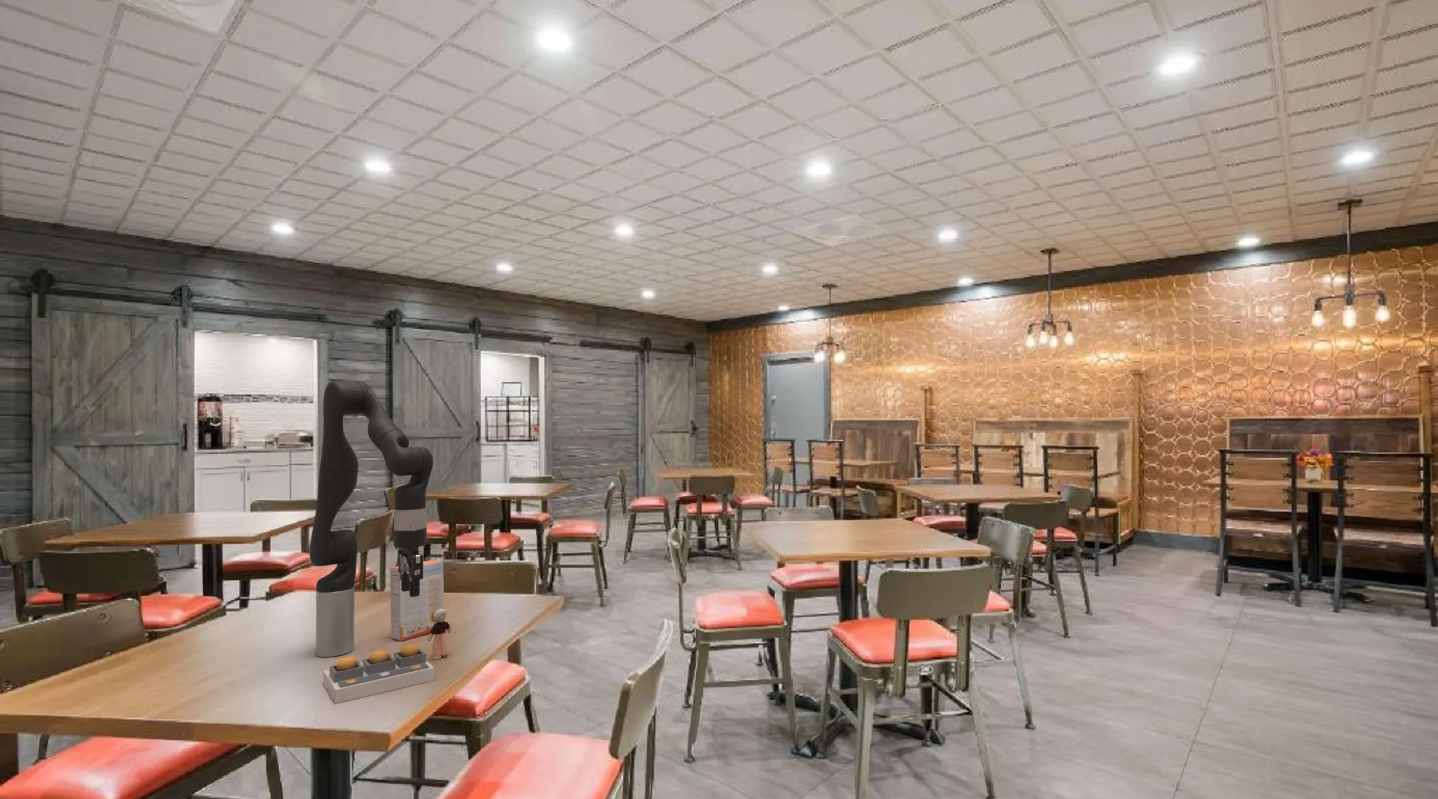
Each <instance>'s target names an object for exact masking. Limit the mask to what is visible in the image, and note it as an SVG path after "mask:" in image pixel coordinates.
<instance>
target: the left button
mask: <svg viewBox="0 0 1438 799" xmlns="http://www.w3.org/2000/svg"><path fill="white" fill-rule="evenodd" d="M356 661H357V656H356V655H353V654H352V655H351V654H350V655H344V656H343V655H342V656H340V657H338V658H337V659H336V665H337V669H338V670H345V669H350V668H353V667H355V666H356Z"/></svg>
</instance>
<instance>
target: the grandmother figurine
mask: <svg viewBox="0 0 1438 799" xmlns="http://www.w3.org/2000/svg"><path fill="white" fill-rule="evenodd" d="M447 612H448V611H447V610H446V609H445V608H444V609H438V610H437V611H435V613H434V618H435V619H436V621H437V623H435V624H434V626H433V627H432V629H431V631H430V633H428V634H429V635H428V638H427V639H426V640H427V641H428V642H431V641H432V639H433V642H432V650H431V651H432V653H431V654H432V655H431V658H430V659H431V660H432V661H437V660H441V658H444V657H443V656H445V657H447V656H448V652H449V651H448V642H447V635H446V634H447V633H448V634H450V633H451V632H452V629H451V626H450V624H449V622H448V621H446V618H447V615H448V614H447ZM446 632H447V633H446ZM433 636H434V638H433ZM440 656H441V657H440Z"/></svg>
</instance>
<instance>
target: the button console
mask: <svg viewBox="0 0 1438 799" xmlns="http://www.w3.org/2000/svg"><path fill="white" fill-rule="evenodd" d="M322 674H323V675H322V676H323V677H322V679H323V680H322V681H323V683H322V684H323V685H324V687H325V688H326V690H327V692H328V694H329V696H330V697H331V699H332V700H333V702H334V704H339V703H343V702H348V701H353V700H357V699H361V698H365V697H369V696H373V695H377V694H381V693H382V694H383V693H386V692H390V691H394V690H399V689H402V688H407V687H411V686H415V685H419V684H424V683H427V682H431V681H435V667H434V666H433V665H432V664H431V663H430V662H428V661H427V653H426V652H425V651H424V650H422V648H420V647H419V653H418V654H415V655H412V656H402V655H401V651H398V652H397V651H396V652H394V653H393V656H392V655H391V654H390V653H388V660H386V661H383V662H378V663H371V662H370V657H369V658H363V659H362V662H360V661H359V660H356V666H355V667H353V668H350V669H345V670H338V669H337V664H335V665H330V666H329V669H325V670H323V673H322Z"/></svg>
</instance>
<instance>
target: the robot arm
mask: <svg viewBox="0 0 1438 799" xmlns="http://www.w3.org/2000/svg"><path fill="white" fill-rule="evenodd" d="M323 393H324V394H323V403H322V404H323V406H322V409H323V412H322V422H323V423H322V428H323V429H322V432H323V433H322V446H321V447H322V448H321V455H320V457H321V458H320V462H319V463H320V464H319V469H318V470H319V471H318V472H319V473H318V485H317V498H316V499H317V500H316V509H315V515H314V520H313V521H314V522H313V525H312V531H311V536H310V541H309V559H310V563H311V564H312V565H313V566H315V567H326V566H334V565H336V567H335V568H334V569H333V570H332V571H330V572H329V573H327V574H326V575H324V576H323V577H321V578H319V579H318V580H317V581H316V584H315V586H316V588H315V590H316V593H315V596H316V597H315V601H316V602H315V606H316V607H315V656H316V657H321V658H330V657H331V658H332V657H338V656H341V655H342V656H343V655H346V654H348V653H351V652H353V651H354V649H355V581H356V576H357V560H358V559H357V558H358V538H357V535H356V533H355V531H354V530H352V529H349V528H345V529H337V530H336V529H335V530H332V527H333V524H334V520H335V518H336V516H337V514H338V513H339V512H340V510H341V508H342V507H343V505H345V503H346V501H348V499H349V498H350V497H351V496H352V494H353V493H354V491H355V489H356V486H357V484H358V483H357V482H358V474H359V459H358V457H357V455H356V453H355V451H354V449H353V448H352V446H351V445H350V443H349V441H348V440H347V437H346V435H345V432H344V415H345V416H346V415H352V416H353V415H363V417H366V418H367V420H368V423H367V435H368V437H369V439H370V441H371V442H372V443H373V445H374V446H375V447H376V448H377V449H378V450H379V451H380V452H381V453H382V456H383V459H384V462H385V465H386V468H387V470H388V471H389V472H390V473H391V474H392V475H395V476H399V477H403V476H410V479H409V481H408V482H406V484H403V485H399V486H398V487H397V488H396V489H395V492H394V515H393V547H394V548H396V549H397V550H398V551H397V558H398V561H397V563H398V564H397V566H398V572H399V573H400V576H402V577H401V590H402V591H403V592H405V591H409V595H410V597H417V596H419V595H420V581H419V580H421V579H423V561H424V555H423V554H421V553H420V551H419V550H420V549H419V548H420V547H424V546H426V545H427V543H428V541H427V540H428V538H427V536H428V535H427V533H428V528H427V527H428V525H427V524H428V523H427V522H428V520H427V519H428V517H427V509H426V508H427V507H426V503H427V501H426V498H427V497H426V496H427V495H426V494H427V493H426V492H427V489H428V485H429V481H430V477H431V474H432V471H433V470H432V469H433V465H434V458H433V457H434V456H433V455H432V453H431V451H430V450H429V449H428V448H427V447H424V446H414V447H413V446H412V447H411V446H409V445H410V440H409V437H408V436H407V435H406V434H405V433H404V432H403V430H402V429H401V428H399V426H397V424H396V423H395V422H394V421H393V420H392V419H391V418H390V416H389V415H388V413H387V411H386V410H385V408H384V405H383V404H382V402H381V401H380V400H379V398H378V396H377V394H376V393H375V390H374V389H373V388H372V387H371V386H370V385H369V384H368V383H366V382H364V381H358V380H332V381H331V380H330V381H329V382H328V383H327V385H326V387H325V389H324V392H323ZM415 572H416V573H417V575H415Z"/></svg>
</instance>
